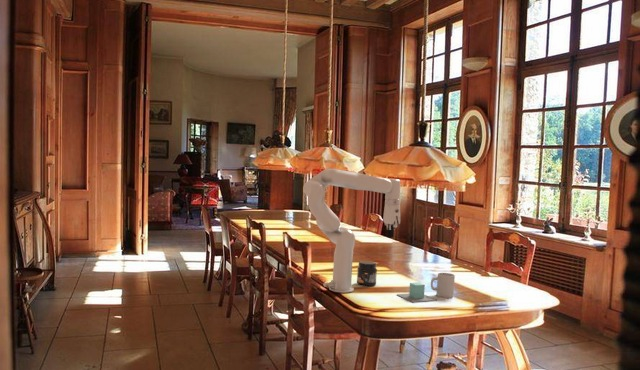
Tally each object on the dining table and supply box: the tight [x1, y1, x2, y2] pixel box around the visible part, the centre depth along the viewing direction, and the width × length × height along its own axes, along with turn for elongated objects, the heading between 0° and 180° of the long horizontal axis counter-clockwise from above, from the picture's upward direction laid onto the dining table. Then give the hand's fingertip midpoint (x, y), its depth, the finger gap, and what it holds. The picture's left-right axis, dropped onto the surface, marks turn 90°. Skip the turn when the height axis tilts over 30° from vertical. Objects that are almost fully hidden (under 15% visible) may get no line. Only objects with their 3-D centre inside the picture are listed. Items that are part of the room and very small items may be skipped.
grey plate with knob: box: [396, 293, 438, 304], centre depth 264 cm, size 14×14×6 cm
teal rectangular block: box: [408, 281, 426, 299], centre depth 264 cm, size 5×5×7 cm
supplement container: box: [356, 260, 378, 288], centre depth 288 cm, size 10×10×12 cm
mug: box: [430, 272, 456, 299], centre depth 272 cm, size 12×8×11 cm
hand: (390, 237), depth 281 cm, fingers closed
